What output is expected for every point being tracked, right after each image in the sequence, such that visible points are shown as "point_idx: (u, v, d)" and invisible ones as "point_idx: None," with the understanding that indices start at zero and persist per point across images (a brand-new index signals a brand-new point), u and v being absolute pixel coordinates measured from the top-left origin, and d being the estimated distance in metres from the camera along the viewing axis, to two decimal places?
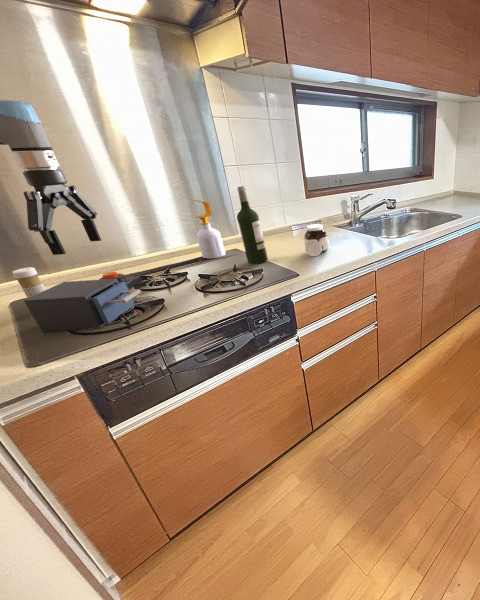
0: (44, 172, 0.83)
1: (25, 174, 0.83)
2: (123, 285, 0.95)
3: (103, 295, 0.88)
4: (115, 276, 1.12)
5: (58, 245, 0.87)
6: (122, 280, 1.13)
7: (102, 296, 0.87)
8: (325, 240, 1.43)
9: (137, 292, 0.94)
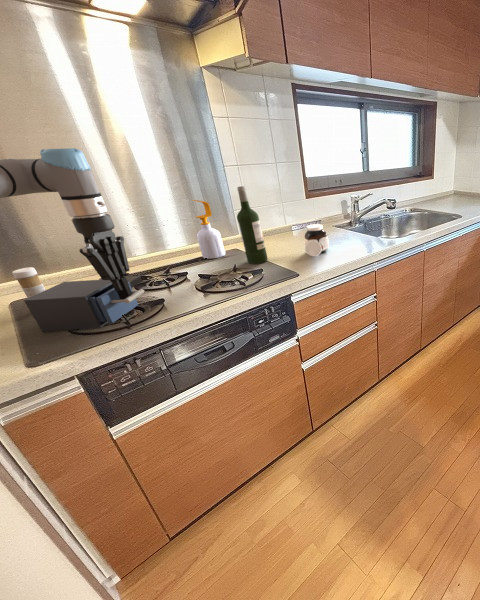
0: (94, 219, 0.80)
1: (74, 222, 0.79)
2: None
3: (107, 295, 0.88)
4: None
5: (126, 292, 0.91)
6: None
7: (106, 296, 0.87)
8: (325, 240, 1.43)
9: (141, 292, 0.94)
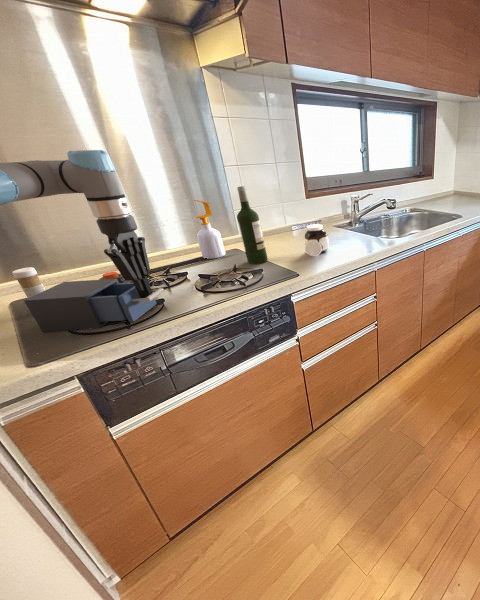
0: (118, 220, 0.81)
1: (99, 223, 0.80)
2: None
3: (128, 293, 0.88)
4: (115, 276, 1.12)
5: (147, 292, 0.91)
6: (122, 280, 1.13)
7: (127, 294, 0.88)
8: (325, 240, 1.43)
9: (160, 291, 0.94)
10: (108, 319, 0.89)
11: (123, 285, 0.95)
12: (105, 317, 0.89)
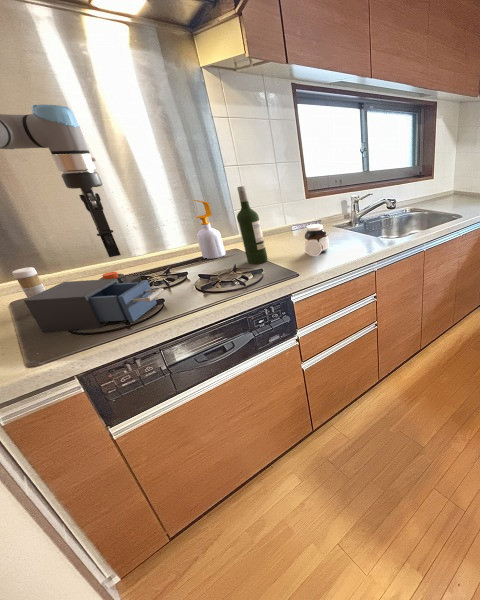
0: (93, 174, 0.87)
1: (73, 176, 0.84)
2: (146, 284, 0.95)
3: (128, 293, 0.88)
4: (115, 276, 1.12)
5: (116, 247, 0.96)
6: (122, 280, 1.13)
7: (127, 294, 0.88)
8: (325, 240, 1.43)
9: (160, 291, 0.94)
10: (108, 319, 0.89)
11: (123, 285, 0.95)
12: (105, 317, 0.89)
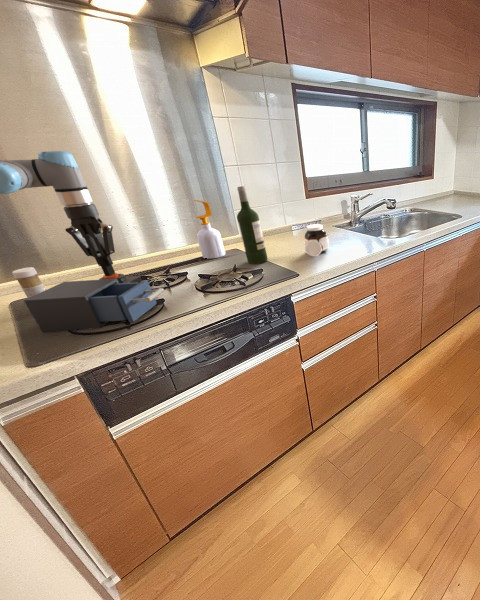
0: (94, 205, 1.05)
1: (87, 208, 1.01)
2: (146, 284, 0.95)
3: (128, 293, 0.88)
4: None
5: (111, 266, 1.12)
6: (122, 280, 1.13)
7: (127, 294, 0.88)
8: (325, 240, 1.43)
9: (160, 291, 0.94)
10: (108, 319, 0.89)
11: (123, 285, 0.95)
12: (105, 317, 0.89)
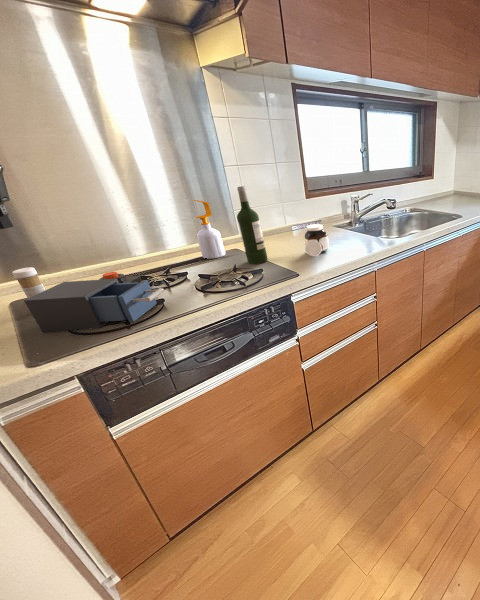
0: None
1: None
2: (146, 284, 0.95)
3: (128, 293, 0.88)
4: (115, 276, 1.12)
5: (8, 218, 0.94)
6: (122, 280, 1.13)
7: (127, 294, 0.88)
8: (325, 240, 1.43)
9: (160, 291, 0.94)
10: (108, 319, 0.89)
11: (123, 285, 0.95)
12: (105, 317, 0.89)
